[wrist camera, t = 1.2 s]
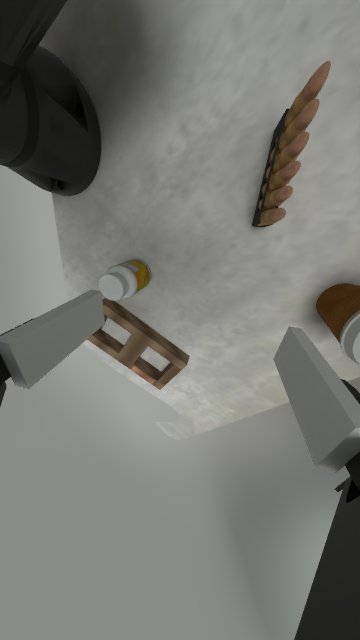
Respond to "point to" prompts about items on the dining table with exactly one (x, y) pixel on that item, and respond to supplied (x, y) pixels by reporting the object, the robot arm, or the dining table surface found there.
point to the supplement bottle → (124, 280)
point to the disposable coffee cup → (343, 317)
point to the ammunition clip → (288, 150)
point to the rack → (139, 346)
